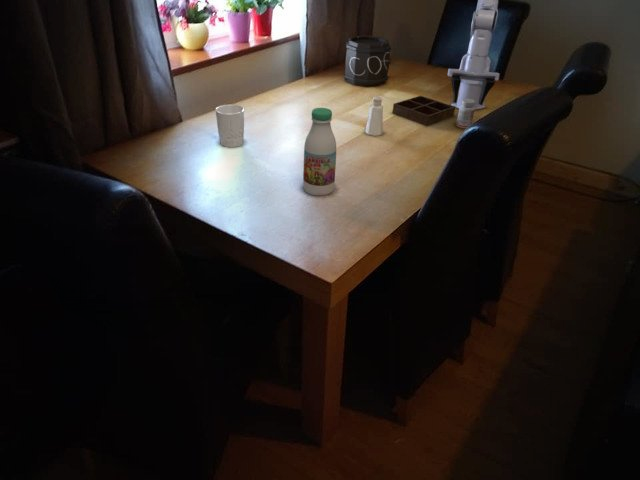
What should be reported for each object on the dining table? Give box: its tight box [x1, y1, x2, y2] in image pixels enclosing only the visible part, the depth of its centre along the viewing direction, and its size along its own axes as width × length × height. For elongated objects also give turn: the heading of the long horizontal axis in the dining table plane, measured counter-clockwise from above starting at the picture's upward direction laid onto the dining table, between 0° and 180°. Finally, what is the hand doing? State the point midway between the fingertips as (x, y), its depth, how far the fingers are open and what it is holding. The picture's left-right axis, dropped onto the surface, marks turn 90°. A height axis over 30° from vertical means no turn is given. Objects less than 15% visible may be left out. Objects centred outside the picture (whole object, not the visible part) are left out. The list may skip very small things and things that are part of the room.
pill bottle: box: [455, 99, 476, 129], centre depth 163 cm, size 5×5×8 cm
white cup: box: [215, 104, 245, 148], centre depth 144 cm, size 8×8×10 cm
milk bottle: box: [302, 107, 337, 196], centre depth 119 cm, size 8×8×20 cm
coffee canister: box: [344, 35, 392, 88], centre depth 198 cm, size 18×18×16 cm
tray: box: [392, 95, 456, 127], centre depth 171 cm, size 15×15×3 cm
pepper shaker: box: [364, 96, 384, 137], centre depth 154 cm, size 5×5×11 cm
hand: (467, 103), depth 152 cm, fingers open, 7 cm apart
